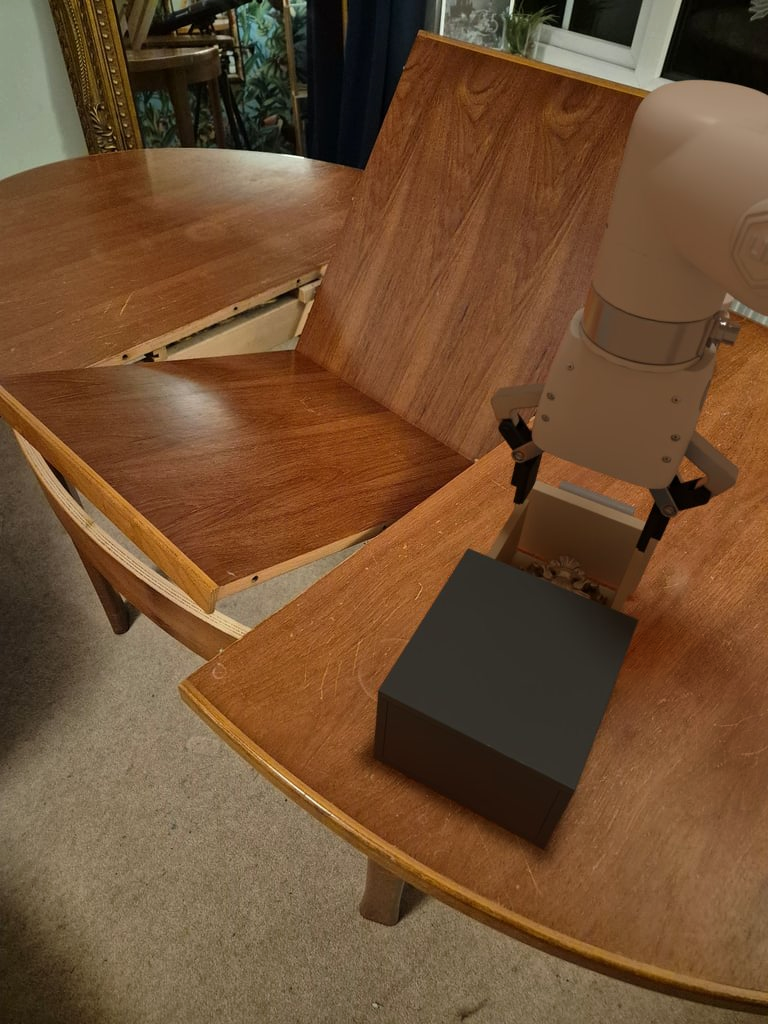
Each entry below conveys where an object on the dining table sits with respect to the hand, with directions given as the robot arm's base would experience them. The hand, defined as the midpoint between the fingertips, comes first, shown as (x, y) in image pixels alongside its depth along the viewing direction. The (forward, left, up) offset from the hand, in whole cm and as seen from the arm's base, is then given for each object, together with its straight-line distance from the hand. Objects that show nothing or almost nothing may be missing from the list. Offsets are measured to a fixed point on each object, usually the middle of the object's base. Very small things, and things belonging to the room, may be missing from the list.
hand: (582, 516), depth 57 cm
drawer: (0, -1, -11) cm, 12 cm away
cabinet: (0, +12, -12) cm, 18 cm away
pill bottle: (-2, -47, -13) cm, 48 cm away
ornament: (0, 0, -11) cm, 11 cm away
